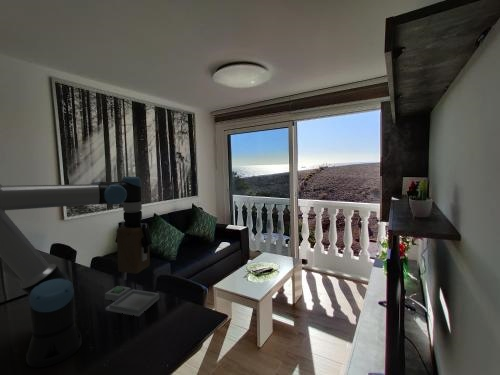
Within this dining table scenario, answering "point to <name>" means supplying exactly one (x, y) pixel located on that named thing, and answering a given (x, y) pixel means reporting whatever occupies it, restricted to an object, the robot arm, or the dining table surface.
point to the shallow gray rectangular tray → (134, 302)
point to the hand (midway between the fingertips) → (134, 259)
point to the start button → (118, 289)
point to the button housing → (114, 296)
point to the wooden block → (131, 250)
